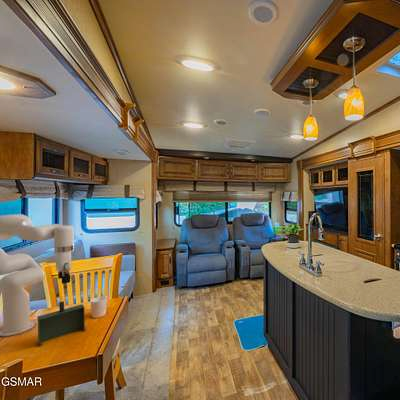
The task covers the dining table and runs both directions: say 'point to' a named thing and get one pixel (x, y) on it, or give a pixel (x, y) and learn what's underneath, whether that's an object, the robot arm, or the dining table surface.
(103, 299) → the white cup
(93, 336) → the dining table surface
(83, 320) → the dustpan
